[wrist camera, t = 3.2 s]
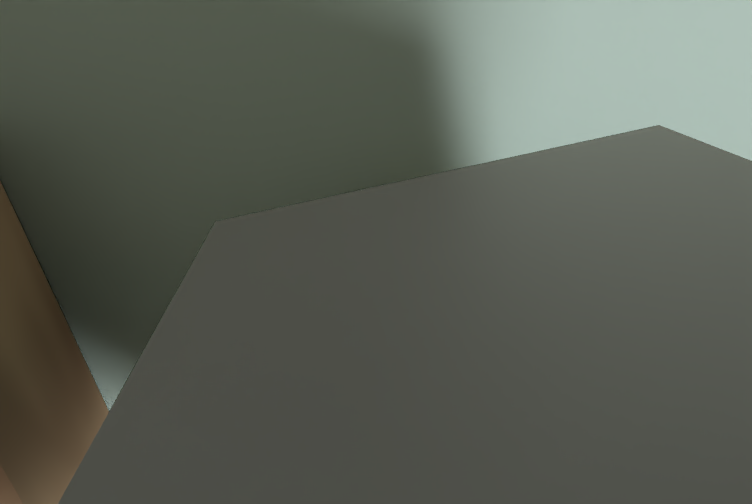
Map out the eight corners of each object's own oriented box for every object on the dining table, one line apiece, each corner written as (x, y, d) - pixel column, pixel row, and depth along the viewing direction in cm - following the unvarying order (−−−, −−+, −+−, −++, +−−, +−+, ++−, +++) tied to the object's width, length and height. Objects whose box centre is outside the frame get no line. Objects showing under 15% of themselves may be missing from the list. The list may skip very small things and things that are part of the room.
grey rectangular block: (606, 399, 13) (1040, 1045, 5) (329, 456, 13) (314, 1170, 5) (585, 96, 10) (1408, 414, 2) (242, 172, 10) (-57, 706, 3)
